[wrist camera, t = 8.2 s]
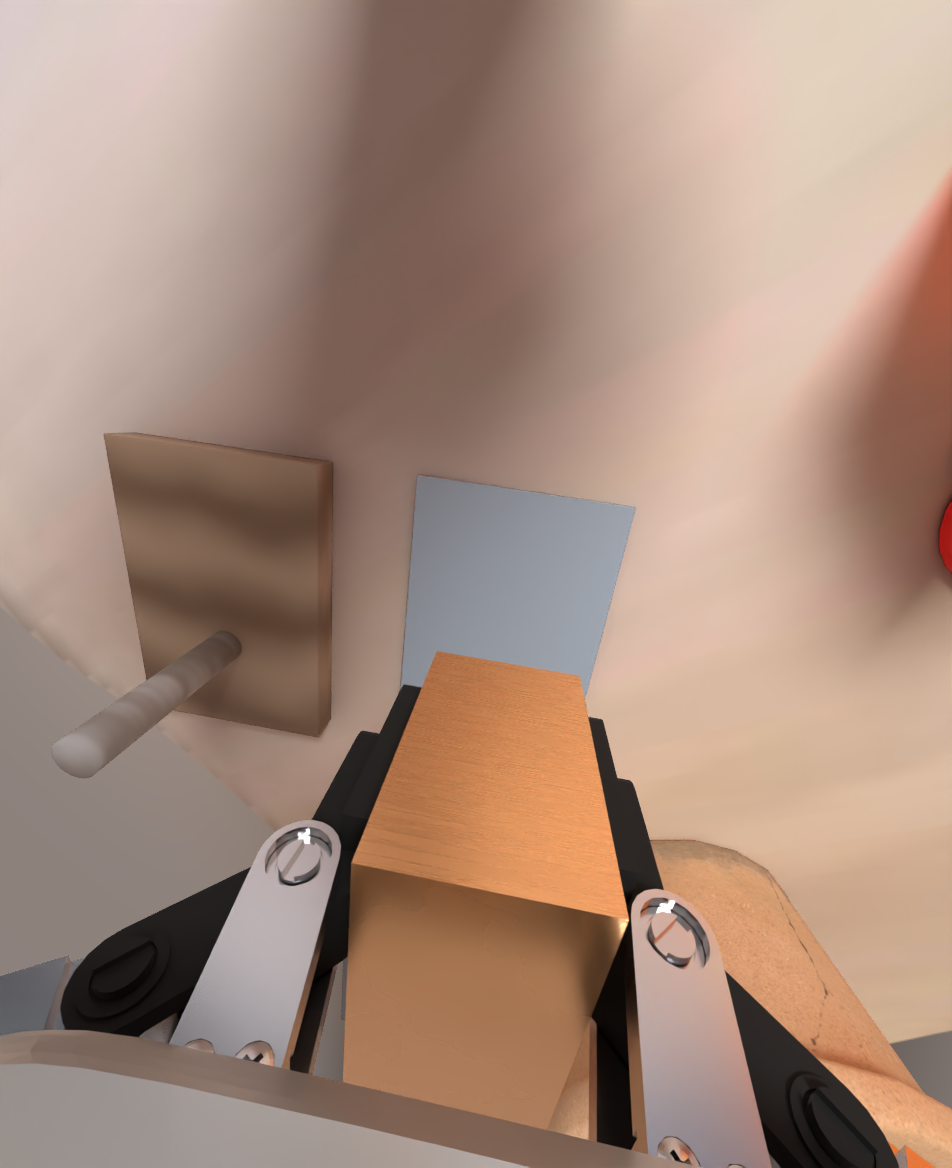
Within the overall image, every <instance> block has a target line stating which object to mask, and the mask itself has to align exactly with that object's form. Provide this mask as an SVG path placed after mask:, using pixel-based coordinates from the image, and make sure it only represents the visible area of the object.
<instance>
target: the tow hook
mask: <svg viewBox="0 0 952 1168" xmlns="http://www.w3.org/2000/svg"><path fill="white" fill-rule="evenodd" d="M939 550H940V553H941V555H942V558H943V561H944V563H945V566H946V567H947V568H948V569H949V570H950V571H951V572H952V501H951V503H950V504H949V506H948V508H947V509H946V512H945V515H944V518H943V521H942V524H941V528H940V531H939Z"/></svg>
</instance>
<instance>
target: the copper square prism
mask: <svg viewBox="0 0 952 1168" xmlns="http://www.w3.org/2000/svg"><path fill="white" fill-rule="evenodd" d="M628 921H629V917H628V912H627V907H626V902H625V897H624V892H623V887H622V882H621V878H620V873H619V868H618V863H617V858H616V853H615V848H614V843H613V838H612V833H611V828H610V823H609V818H608V813H607V808H606V803H605V798H604V793H603V788H602V783H601V778H600V773H599V768H598V763H597V758H596V753H595V748H594V743H593V739H592V734H591V729H590V724H589V719H588V714H587V709H586V704H585V699H584V694H583V689H582V684H581V679H580V676H578V675H572V674H566V673H560V672H555V671H549V670H543V669H537V668H532V667H526V666H520V665H514V664H508V663H503V662H497V661H491V660H485V659H480V658H474V657H468V656H462V655H456V654H451V653H445V652H439V651H436V654H435V656H434V659H433V661H432V664H431V666H430V669H429V671H428V674H427V676H426V679H425V681H424V684H423V686H422V689H421V691H420V694H419V696H418V699H417V701H416V704H415V706H414V709H413V711H412V713H411V716H410V718H409V721H408V723H407V726H406V728H405V731H404V733H403V736H402V738H401V741H400V743H399V746H398V748H397V751H396V753H395V756H394V758H393V761H392V763H391V766H390V768H389V771H388V773H387V776H386V778H385V781H384V783H383V785H382V788H381V790H380V793H379V795H378V798H377V800H376V803H375V805H374V808H373V810H372V813H371V815H370V818H369V820H368V823H367V825H366V828H365V830H364V833H363V835H362V838H361V840H360V843H359V845H358V848H357V850H356V852H355V855H354V857H353V860H352V862H351V883H350V910H349V936H348V957H347V958H345V959H344V960H343V982H342V983H343V984H342V1014H341V1019H342V1020H345V1041H344V1043H345V1044H344V1067H343V1082H345V1083H349V1084H353V1085H358V1086H362V1087H366V1088H371V1089H375V1090H379V1091H384V1092H388V1093H392V1094H396V1095H401V1096H405V1097H409V1098H413V1099H418V1100H422V1101H426V1102H430V1103H435V1104H439V1105H443V1106H447V1107H452V1108H456V1109H460V1110H464V1111H469V1112H473V1113H477V1114H481V1115H486V1116H490V1117H494V1118H498V1119H503V1120H507V1121H511V1122H515V1123H519V1124H524V1125H528V1126H532V1127H536V1128H541V1129H545V1130H547V1128H548V1125H549V1123H550V1120H551V1118H552V1115H553V1112H554V1110H555V1107H556V1105H557V1102H558V1100H559V1097H560V1095H561V1092H562V1090H563V1087H564V1084H565V1082H566V1079H567V1077H568V1074H569V1072H570V1069H571V1067H572V1064H573V1062H574V1059H575V1056H576V1054H577V1051H578V1049H579V1046H580V1044H581V1041H582V1039H583V1036H584V1034H585V1031H586V1028H587V1026H588V1023H589V1021H590V1018H591V1016H592V1013H593V1011H594V1008H595V1005H596V1003H597V1000H598V998H599V995H600V993H601V990H602V988H603V985H604V983H605V980H606V977H607V975H608V972H609V970H610V967H611V965H612V962H613V960H614V957H615V955H616V952H617V949H618V947H619V944H620V942H621V939H622V937H623V934H624V932H625V929H626V927H627V924H628Z"/></svg>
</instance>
